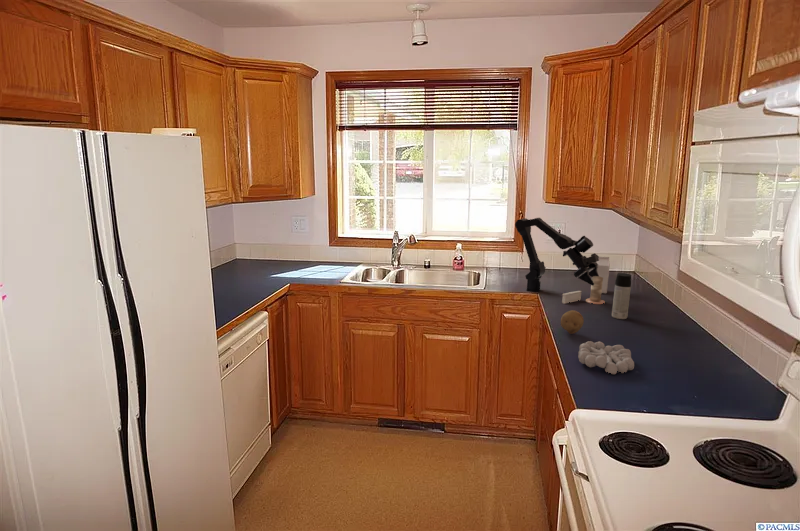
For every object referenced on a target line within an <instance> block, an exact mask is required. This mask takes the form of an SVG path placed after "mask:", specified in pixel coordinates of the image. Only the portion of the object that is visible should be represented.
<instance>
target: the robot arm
mask: <svg viewBox="0 0 800 531" xmlns="http://www.w3.org/2000/svg"><path fill="white" fill-rule="evenodd" d="M514 226H515V227H514V228H515V229H516V231H517V232H518V233H519V235H520V236H521V238H522V241H523V244H524V247H525V251H526V255H527V257H528V260H529V272H528V273H527V274H526V275H525V279H526V280H527V282H526V289H525V290H526V292H528V291H529V292H540V290H541V281H540V280H541V279H542V276H544V275H545V273H546V269H547V268H546V266H545V262H544V260H543V261H541V260H540V259H539V255H538V254H537V253H538V252H537V250H536V247H535V244H534V241H533V238H532V233H531V232H532V227H537V228H538V229H539V230H540V231H542V232H543V234H545V235H547V236H548V237H549V238H550V239H552V240H553V241H554V243H555V245H556V246H557V247H558V248H559V249H560V250H562V251H563V250H564V251H563V253H562V257H566V256H568V258H569V259H570V261H571V262H572V266H575V267H576V268H577V269H576V271H573V276H574V277H575V278H576V279H579V280H581V281H584V282H585V283H587V284H589V285H590V286H591V285H594V283H593V281H592V277H593V276H599V275H598V272H597V268H598V264H597V263H596V262H597V261H599V259H598V258H599V257H600V256H599V255H598V254H596V253H592V254H591V255H590V256H589V257H587V256H586V255H583V254H582V253H586V252H587V251H588V250H590V249H591V248H592V247H593V246H594V243H593V241H592V240H591V239H590V238H588V237H587V236H586V235H582V236H581V237H580V238H579V239H578V240H573V239H572V238H571V237H570V236H568V235H566V234H564V233H560V232H558V231H557V230H556V229H555V228H554V227H552V226H551V225H550V224H548V223H547V222H546V221H545V220H543V219H542V218H541V217H535V218H532V219H531V218H530V219H529V218H526V217H525V218H524V217H523V218H520V219H516V221H515V223H514ZM566 249H567V250H566Z"/></svg>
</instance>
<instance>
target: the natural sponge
mask: <svg viewBox="0 0 800 531" xmlns="http://www.w3.org/2000/svg"><path fill="white" fill-rule="evenodd" d="M583 325H584V317H583V315H582V314H581V313H580V312H579V311H577V310H575V309H574V310H568V311H566V312H565V313H563V314H562V315H561V318H560V326H561V328H562V329H563V330H564V331H566V332H567V333H568V334H570V335H573V334H574V335H575V334H577V333H578V332H579V331H580V330H581V329H582V327H583Z"/></svg>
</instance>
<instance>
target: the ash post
mask: <svg viewBox="0 0 800 531" xmlns="http://www.w3.org/2000/svg"><path fill="white" fill-rule="evenodd" d="M591 279H592V281H593V283H594V285H591V284H590V295H589V298H590V301H593V302H600V301H601V300H602V294H603V293H602V283H603V277H600V276H593V277H591Z"/></svg>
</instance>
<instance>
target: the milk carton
mask: <svg viewBox="0 0 800 531" xmlns="http://www.w3.org/2000/svg"><path fill="white" fill-rule="evenodd" d="M598 259H599V261H597V262H596V263H597V264H598V268H597V272H598V275H599V276H600V277H603V283H602V293H601V294H607V293H608V285H609V275H610V257H609V256H599V258H598Z"/></svg>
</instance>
